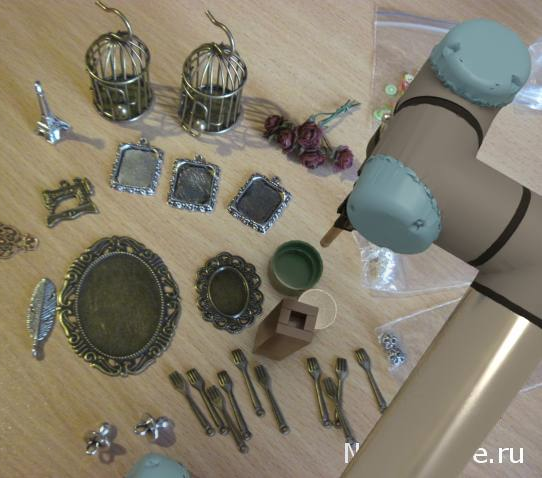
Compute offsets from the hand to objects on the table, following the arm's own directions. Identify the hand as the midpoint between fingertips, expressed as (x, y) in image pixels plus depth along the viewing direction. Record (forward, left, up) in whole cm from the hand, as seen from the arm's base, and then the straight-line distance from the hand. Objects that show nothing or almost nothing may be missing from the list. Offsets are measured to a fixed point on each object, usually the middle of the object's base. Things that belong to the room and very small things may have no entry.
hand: (344, 220), depth 80 cm
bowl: (+3, 0, -40) cm, 40 cm away
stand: (-13, +1, -40) cm, 42 cm away
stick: (0, 0, 0) cm, 0 cm away
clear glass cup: (-6, -5, -40) cm, 41 cm away
